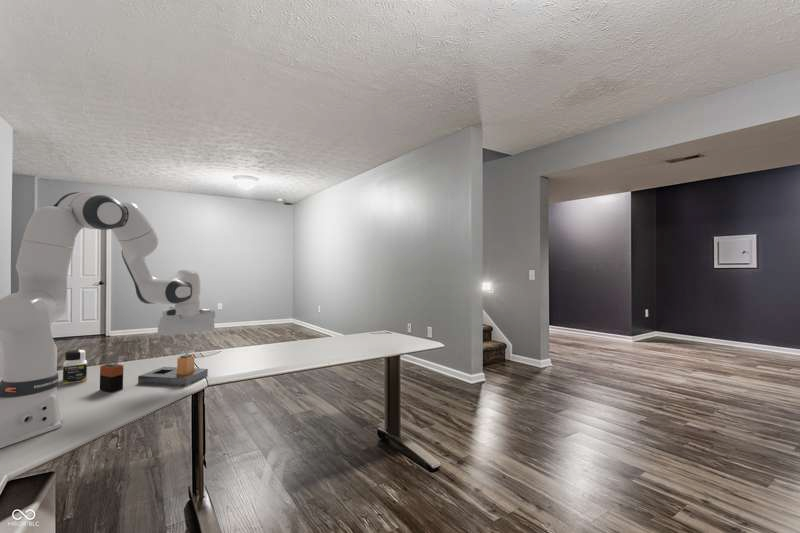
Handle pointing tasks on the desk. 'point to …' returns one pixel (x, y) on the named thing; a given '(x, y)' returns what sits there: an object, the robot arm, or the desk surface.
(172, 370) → the socket plate
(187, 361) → the plug
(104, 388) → the battery
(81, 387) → the desk surface
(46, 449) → the desk surface
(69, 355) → the medicine bottle
